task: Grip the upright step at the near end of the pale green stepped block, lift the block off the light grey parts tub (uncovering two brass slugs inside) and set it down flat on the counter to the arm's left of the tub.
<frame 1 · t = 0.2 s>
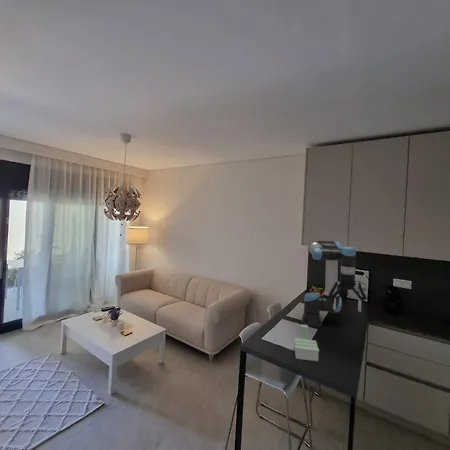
hand: (346, 310, 147), 27 cm above the breakfast bar, fingers open, 13 cm apart
green stepped block: (306, 345, 147), point 6 cm above the breakfast bar, touching tub
tub: (305, 355, 147), on the breakfast bar
slug b: (310, 357, 144), point 1 cm above the breakfast bar, touching tub
slug a: (300, 351, 150), point 1 cm above the breakfast bar, touching tub
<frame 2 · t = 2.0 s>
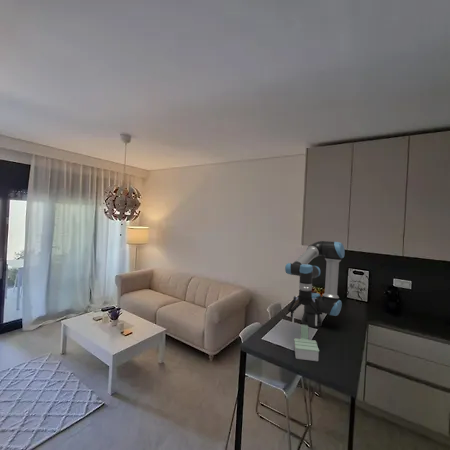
hand: (304, 324, 156), 15 cm above the breakfast bar, fingers open, 13 cm apart
nothing on the breakfast bar moved.
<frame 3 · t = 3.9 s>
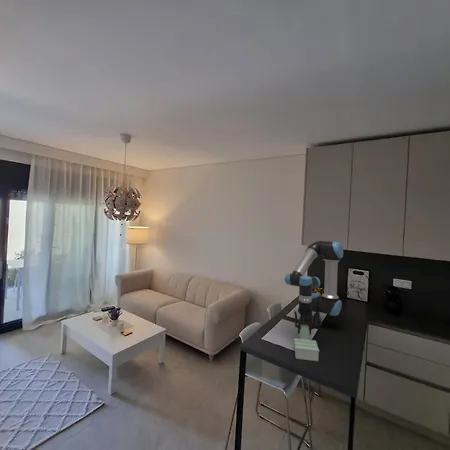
hand: (304, 339, 156), 6 cm above the breakfast bar, fingers closed on green stepped block, 4 cm apart
green stepped block: (306, 345, 147), point 6 cm above the breakfast bar, touching gripper, tub
everything else where it was.
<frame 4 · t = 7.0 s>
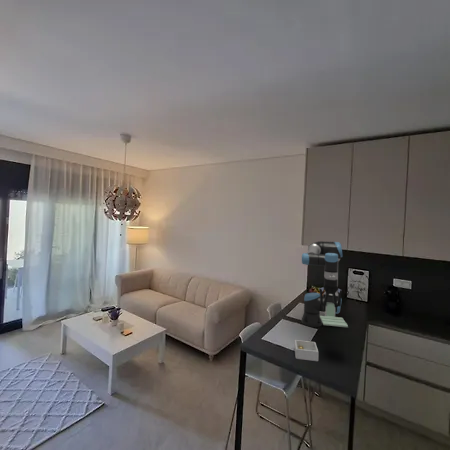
hand: (329, 316, 155), 21 cm above the breakfast bar, fingers closed on green stepped block, 4 cm apart
green stepped block: (333, 321, 145), point 21 cm above the breakfast bar, touching gripper
everything else where it was.
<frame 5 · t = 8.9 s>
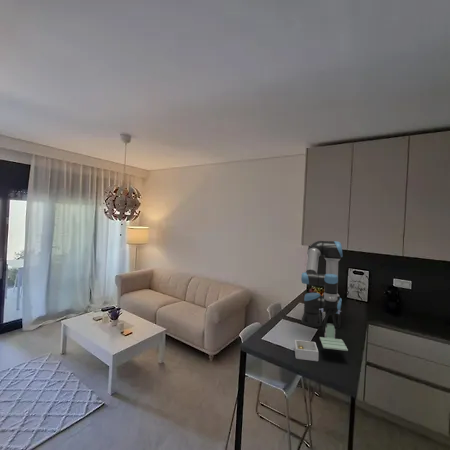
hand: (329, 338, 154), 8 cm above the breakfast bar, fingers closed on green stepped block, 4 cm apart
green stepped block: (333, 344, 145), point 8 cm above the breakfast bar, touching gripper
everything else where it was.
when the fingers open (2 cm above the breakfast bar, at t = 10.5 s): green stepped block drops 3 cm, on the breakfast bar.
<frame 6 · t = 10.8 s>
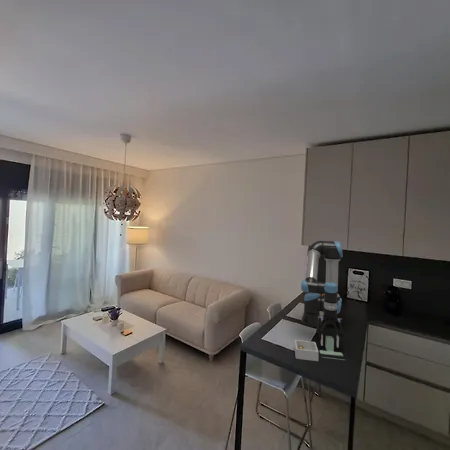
hand: (329, 345, 155), 3 cm above the breakfast bar, fingers open, 8 cm apart
green stepped block: (332, 358, 146), on the breakfast bar
everything else where it was.
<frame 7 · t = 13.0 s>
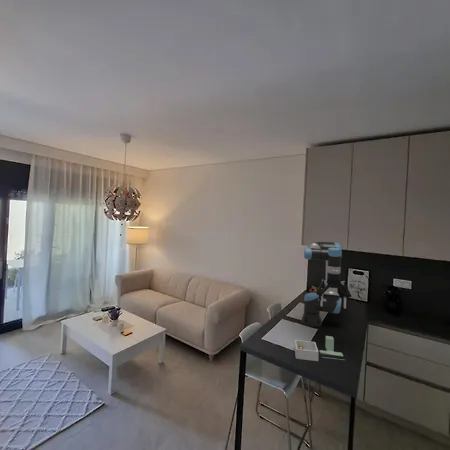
hand: (332, 306, 157), 26 cm above the breakfast bar, fingers open, 13 cm apart
nothing on the breakfast bar moved.
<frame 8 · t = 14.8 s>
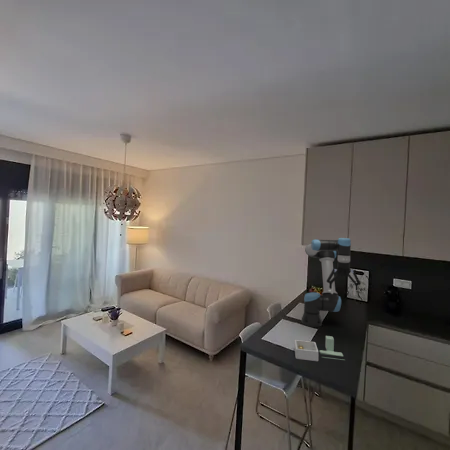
hand: (342, 294, 165), 32 cm above the breakfast bar, fingers open, 13 cm apart
nothing on the breakfast bar moved.
at the end: green stepped block inside the target area (0.5 cm from its centre), on the breakfast bar; green stepped block tilted 0°; the gripper is holding nothing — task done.
